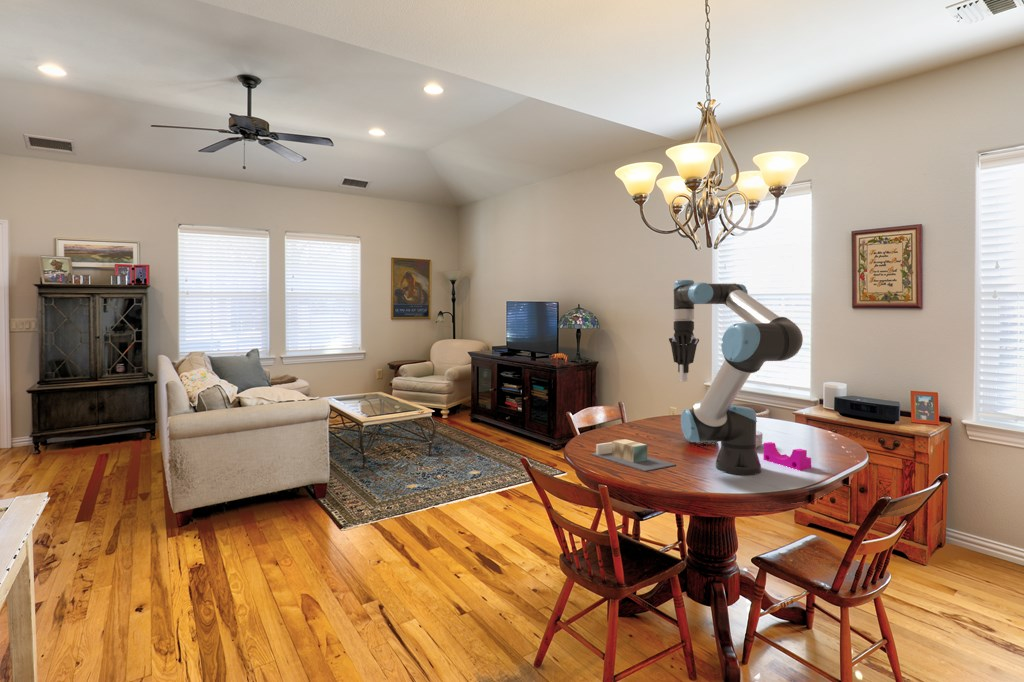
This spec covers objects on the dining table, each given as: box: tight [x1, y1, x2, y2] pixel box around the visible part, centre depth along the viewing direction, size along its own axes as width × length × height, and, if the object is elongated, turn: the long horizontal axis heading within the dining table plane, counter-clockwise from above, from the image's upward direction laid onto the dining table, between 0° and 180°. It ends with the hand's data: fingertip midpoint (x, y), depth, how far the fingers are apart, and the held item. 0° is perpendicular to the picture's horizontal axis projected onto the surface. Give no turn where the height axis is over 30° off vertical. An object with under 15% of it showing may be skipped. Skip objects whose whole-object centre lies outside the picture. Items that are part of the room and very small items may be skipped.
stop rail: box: [595, 441, 612, 455], centre depth 215 cm, size 1×14×4 cm, turn 121°
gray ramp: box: [589, 452, 677, 472], centre depth 205 cm, size 30×16×1 cm, turn 31°
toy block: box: [763, 441, 812, 471], centre depth 196 cm, size 15×6×8 cm, turn 25°
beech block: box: [611, 438, 648, 463], centre depth 206 cm, size 6×7×12 cm
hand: (683, 381), depth 205 cm, fingers closed
